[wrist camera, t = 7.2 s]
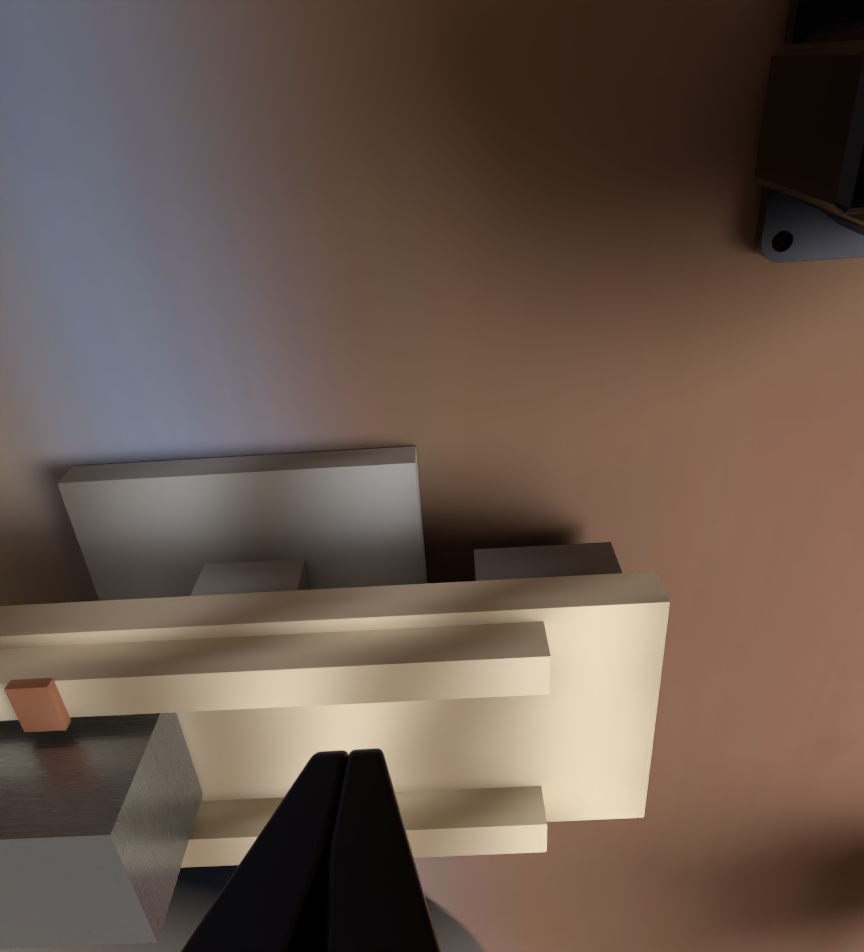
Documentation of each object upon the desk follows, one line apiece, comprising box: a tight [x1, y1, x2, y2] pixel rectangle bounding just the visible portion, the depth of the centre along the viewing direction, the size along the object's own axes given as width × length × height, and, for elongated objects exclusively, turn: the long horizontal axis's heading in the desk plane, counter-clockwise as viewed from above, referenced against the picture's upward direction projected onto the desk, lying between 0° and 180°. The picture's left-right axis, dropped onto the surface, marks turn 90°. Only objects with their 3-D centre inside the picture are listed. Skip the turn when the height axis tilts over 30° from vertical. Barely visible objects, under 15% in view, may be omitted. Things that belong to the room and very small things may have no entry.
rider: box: [0, 712, 203, 949], centre depth 18 cm, size 5×4×4 cm
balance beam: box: [0, 446, 670, 867], centre depth 21 cm, size 22×12×6 cm, turn 94°
